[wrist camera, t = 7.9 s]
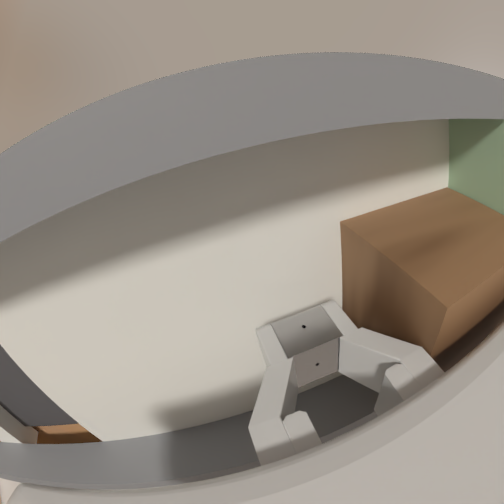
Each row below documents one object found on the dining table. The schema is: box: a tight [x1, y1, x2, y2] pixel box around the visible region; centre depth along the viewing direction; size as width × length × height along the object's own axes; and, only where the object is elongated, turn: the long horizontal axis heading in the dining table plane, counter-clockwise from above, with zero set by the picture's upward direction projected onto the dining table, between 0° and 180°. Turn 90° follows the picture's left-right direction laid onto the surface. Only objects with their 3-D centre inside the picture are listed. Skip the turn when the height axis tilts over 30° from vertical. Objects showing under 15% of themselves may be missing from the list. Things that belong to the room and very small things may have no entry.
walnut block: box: [340, 187, 504, 372], centre depth 9 cm, size 6×6×5 cm
